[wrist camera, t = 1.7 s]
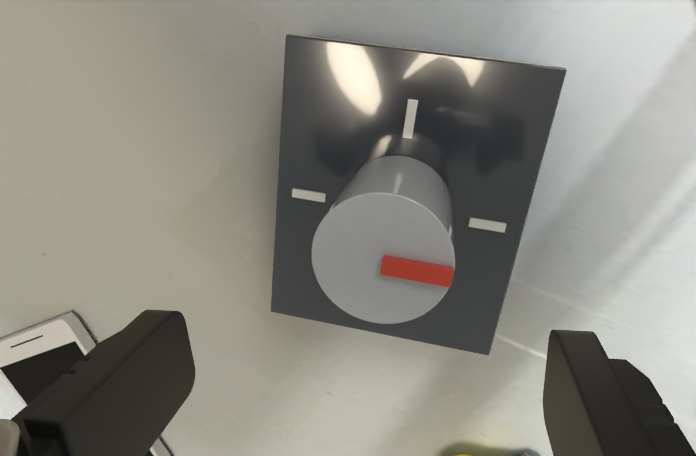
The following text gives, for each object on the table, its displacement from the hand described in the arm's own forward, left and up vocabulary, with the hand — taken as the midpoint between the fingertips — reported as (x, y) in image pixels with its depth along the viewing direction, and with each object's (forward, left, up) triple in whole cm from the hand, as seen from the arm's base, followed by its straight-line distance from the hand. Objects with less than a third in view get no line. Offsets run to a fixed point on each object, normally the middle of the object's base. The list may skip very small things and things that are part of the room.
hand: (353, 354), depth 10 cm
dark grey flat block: (0, 0, -12) cm, 13 cm away
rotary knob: (0, 0, -9) cm, 9 cm away
